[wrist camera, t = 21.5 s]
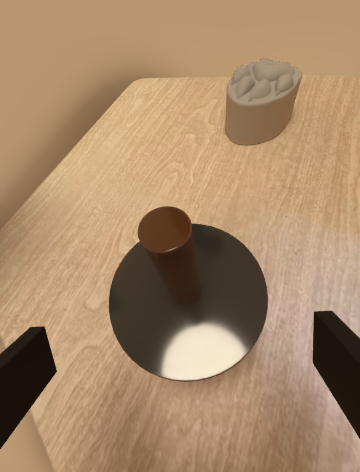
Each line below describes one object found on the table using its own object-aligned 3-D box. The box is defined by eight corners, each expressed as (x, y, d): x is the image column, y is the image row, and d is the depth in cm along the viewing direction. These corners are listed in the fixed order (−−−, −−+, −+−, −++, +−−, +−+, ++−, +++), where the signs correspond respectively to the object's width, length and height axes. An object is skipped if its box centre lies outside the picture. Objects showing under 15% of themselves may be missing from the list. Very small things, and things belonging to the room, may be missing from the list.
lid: (93, 365, 18) (-21, 353, 9) (134, 226, 24) (88, 141, 15) (267, 397, 16) (333, 421, 7) (263, 234, 22) (294, 139, 13)
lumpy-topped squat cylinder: (297, 111, 44) (313, 57, 37) (263, 153, 40) (274, 101, 32) (247, 98, 48) (252, 48, 41) (211, 134, 44) (210, 85, 36)
